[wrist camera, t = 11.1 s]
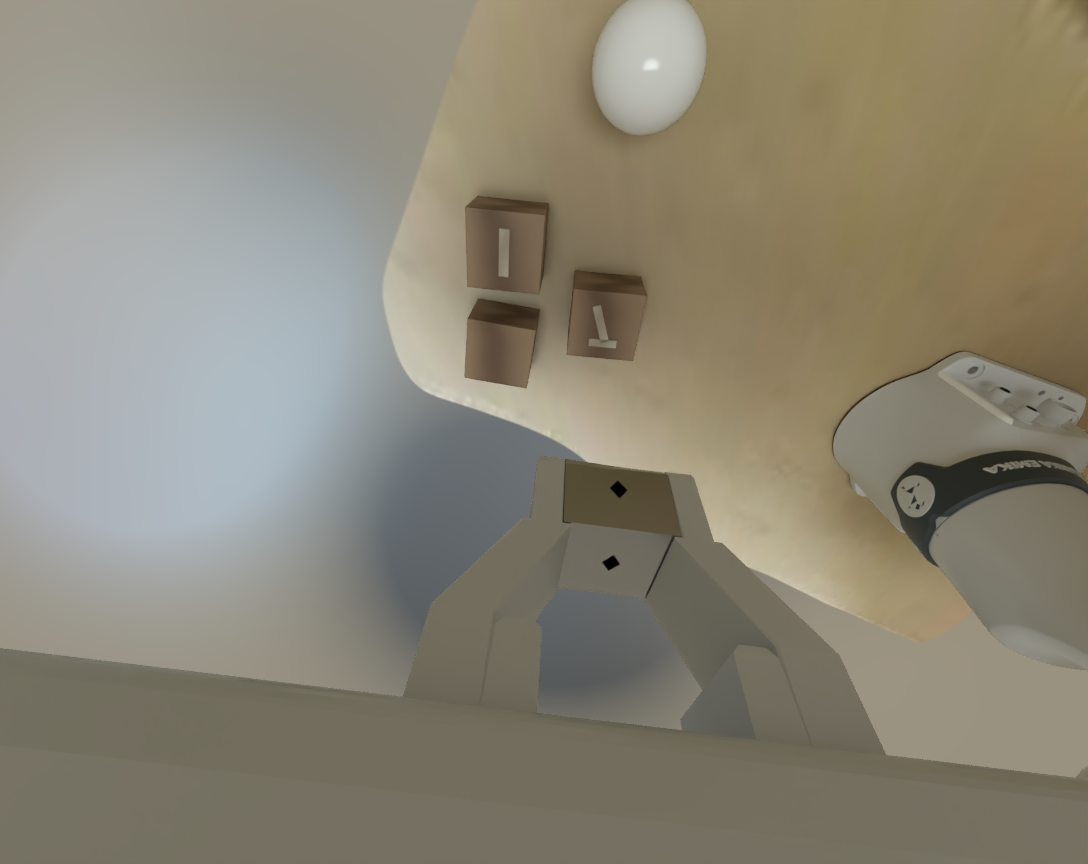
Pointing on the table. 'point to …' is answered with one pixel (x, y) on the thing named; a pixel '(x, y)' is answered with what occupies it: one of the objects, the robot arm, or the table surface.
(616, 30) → the lightbulb
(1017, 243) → the table surface
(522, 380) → the plain block
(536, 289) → the numbered block 1
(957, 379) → the robot arm
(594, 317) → the numbered block 7
